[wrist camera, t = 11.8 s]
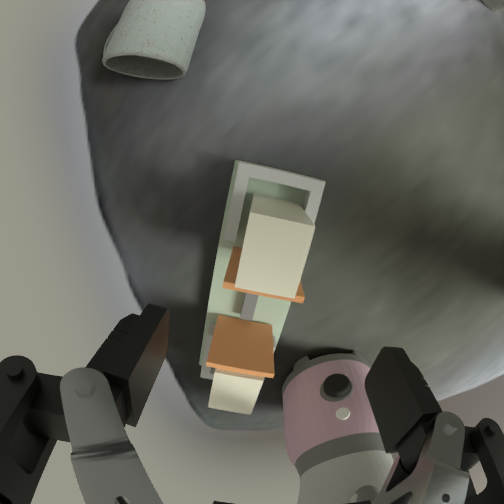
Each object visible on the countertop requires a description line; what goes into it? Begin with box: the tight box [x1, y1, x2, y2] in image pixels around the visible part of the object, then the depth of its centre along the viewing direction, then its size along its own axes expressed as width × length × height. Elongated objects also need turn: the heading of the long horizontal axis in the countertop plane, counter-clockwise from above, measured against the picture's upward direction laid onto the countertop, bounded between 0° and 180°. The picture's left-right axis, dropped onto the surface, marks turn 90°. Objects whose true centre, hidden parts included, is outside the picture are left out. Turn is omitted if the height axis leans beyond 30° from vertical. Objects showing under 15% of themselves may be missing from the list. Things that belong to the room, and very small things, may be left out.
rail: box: [199, 160, 326, 415], centre depth 24 cm, size 8×23×10 cm, turn 168°
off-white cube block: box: [222, 193, 315, 303], centre depth 21 cm, size 6×6×8 cm
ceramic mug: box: [102, 0, 206, 80], centre depth 17 cm, size 11×8×8 cm
